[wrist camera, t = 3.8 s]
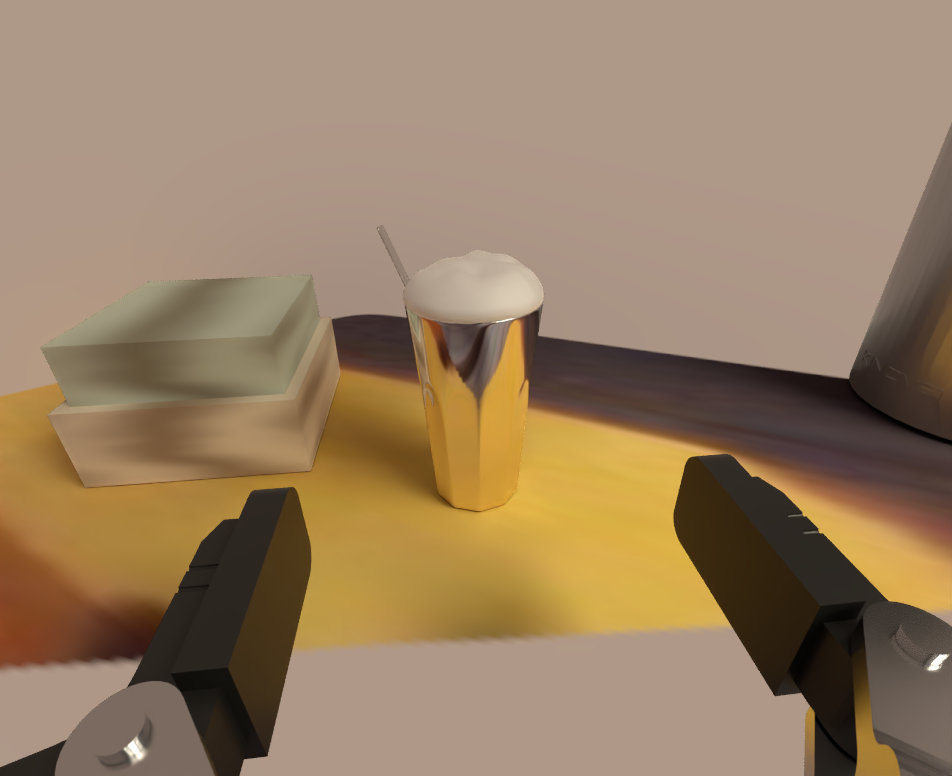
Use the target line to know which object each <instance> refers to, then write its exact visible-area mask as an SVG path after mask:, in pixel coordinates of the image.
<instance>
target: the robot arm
mask: <svg viewBox="0 0 952 776" xmlns="http://www.w3.org/2000/svg"><path fill="white" fill-rule="evenodd" d="M849 382H850V384H851V386H852V388H853V390H854V391H855V392H856V393H857V394H858V395H859V396H860V397H861V398H862V399H864V400H865V401H866V402H868V403H869V404H870V405H872V406H873V407H875V408H876V409H878V410H880V411H882V412H883V413H885V414H887V415H889V416H891V417H892V418H895V419H897V420H899V421H901V422H903V423H906V424H908V425H910V426H912V427H915V428H917V429H920V430H923V431H925V432H928V433H931V434H934V435H936V436H939V437H942V438H945V439H949V440H952V123H951V126H950V128H949V131H948V133H947V136H946V138H945V141H944V143H943V146H942V148H941V151H940V153H939V156H938V158H937V160H936V163H935V165H934V168H933V170H932V173H931V175H930V178H929V180H928V183H927V185H926V188H925V190H924V192H923V195H922V197H921V200H920V202H919V205H918V207H917V210H916V212H915V215H914V217H913V220H912V222H911V224H910V227H909V229H908V232H907V235H906V237H905V239H904V242H903V244H902V247H901V249H900V252H899V254H898V257H897V259H896V261H895V264H894V266H893V269H892V272H891V274H890V276H889V279H888V281H887V284H886V286H885V289H884V291H883V294H882V296H881V299H880V301H879V303H878V306H877V308H876V310H875V313H874V315H873V318H872V320H871V323H870V325H869V328H868V330H867V333H866V335H865V338H864V340H863V343H862V345H861V348H860V350H859V353H858V355H857V357H856V360H855V362H854V365H853V368H852V370H851V373H850V377H849ZM802 513H803V512H802V511H801V510H800V509H799V508H798V507H797V506H796V505H795V504H794V503H793V502H792V501H791V500H790V499H789V498H788V497H787V496H786V495H785V494H784V493H783V492H781V491H780V490H778V489H777V488H775V487H773V486H772V485H770V484H769V483H767V482H765V481H764V480H762V479H761V478H759V477H752V476H751V475H750V474H749V473H748V472H747V471H746V470H745V469H744V468H743V467H742V466H741V465H740V464H739V462H738V461H737V460H736V459H735V458H734V457H732V456H731V455H728V454H720V455H708V456H695V457H690V458H689V459H688V460H687V462H686V465H685V468H684V472H683V476H682V480H681V484H680V489H679V493H678V497H677V501H676V505H675V509H674V526H675V531H676V534H677V537H678V539H679V541H680V543H681V545H682V546H683V548H684V549H685V551H686V553H687V554H688V556H689V558H690V559H691V561H692V562H693V564H694V566H695V567H696V569H697V571H698V572H699V574H700V575H701V577H702V579H703V580H704V582H705V584H706V585H707V587H708V588H709V590H710V592H711V593H712V595H713V597H714V598H715V600H716V601H717V603H718V605H719V606H720V608H721V610H722V611H723V613H724V614H725V616H726V618H727V619H728V621H729V623H730V624H731V626H732V627H733V629H734V631H735V632H736V634H737V636H738V637H739V639H740V640H741V642H742V643H743V645H744V647H745V648H746V650H747V652H748V653H749V655H750V656H751V658H752V660H753V662H754V663H755V665H756V666H757V668H758V670H759V671H760V673H761V674H762V676H763V678H764V679H765V681H766V683H767V684H768V686H769V687H770V689H771V691H772V692H773V694H774V696H780V695H788V694H796V693H802V695H803V696H804V698H805V699H806V701H807V702H808V704H809V705H810V707H809V709H808V711H807V713H806V719H805V762H804V764H805V765H804V776H952V627H951V626H950V625H949V624H947V623H946V622H944V621H943V620H941V619H939V618H938V617H936V616H934V615H932V614H930V613H928V612H926V611H924V610H921V609H919V608H916V607H914V606H910V605H907V604H903V603H898V602H890V601H888V600H887V599H886V598H885V597H884V596H883V595H882V594H881V593H880V592H879V591H878V590H877V589H876V588H875V587H874V586H873V585H872V584H871V583H870V582H869V581H868V579H867V578H866V577H865V576H864V575H863V574H862V573H861V572H860V571H859V570H858V569H857V568H856V567H855V566H854V565H853V564H852V563H851V562H850V561H849V560H848V559H847V558H846V557H845V556H844V555H843V554H842V553H841V552H840V551H839V550H838V549H837V548H836V546H835V545H834V544H833V543H832V542H831V541H830V540H829V539H828V538H827V537H826V536H825V535H824V534H823V533H821V534H820V533H819V531H818V528H817V527H816V526H815V525H814V524H813V523H812V522H811V521H810V520H809V519H808V518H807V517H804V516H803V515H802ZM310 570H311V546H310V540H309V536H308V532H307V528H306V525H305V521H304V517H303V513H302V509H301V505H300V501H299V497H298V493H297V491H296V489H295V488H294V487H288V488H275V489H262V490H254V491H252V492H251V493H250V495H249V497H248V499H247V501H246V504H245V506H244V508H243V510H242V513H241V515H240V517H239V519H228V520H223V521H222V522H221V523H220V524H219V525H218V526H217V527H216V528H215V529H214V530H213V531H212V532H211V533H210V534H209V535H208V536H207V537H206V538H205V539H204V540H203V541H202V542H201V544H200V546H199V548H198V550H197V552H196V554H195V556H194V558H193V560H192V562H191V564H190V566H189V571H187V572H186V574H185V576H184V577H183V579H182V581H181V583H180V585H179V587H178V588H179V591H178V593H175V595H174V597H173V599H172V601H171V603H170V605H169V607H168V609H167V611H166V613H165V615H164V617H163V619H162V621H161V623H160V625H159V627H158V629H157V631H156V633H155V635H154V637H153V639H152V641H151V643H150V645H149V647H148V649H147V651H146V653H145V655H144V657H143V659H142V661H141V663H140V665H139V667H138V669H137V670H136V673H135V674H134V676H133V678H132V680H131V682H130V683H129V685H128V687H127V688H126V689H123V690H121V691H119V692H117V693H116V694H114V695H112V696H110V697H109V698H108V699H106V700H105V701H103V702H102V703H100V704H99V705H98V706H97V707H96V708H94V709H93V710H92V711H91V712H90V713H89V714H88V715H87V716H86V717H85V718H84V719H83V720H82V721H81V722H80V723H79V725H78V726H77V727H76V728H75V729H74V731H73V732H72V733H71V735H70V736H69V738H68V739H67V740H65V741H62V742H60V743H59V744H56V745H54V746H52V747H49V748H47V749H44V750H42V751H39V752H37V753H34V754H32V755H29V756H27V757H25V758H22V759H20V760H17V761H15V762H12V763H10V764H8V765H5V766H3V767H0V776H239V775H240V771H241V767H242V764H243V760H244V759H250V758H257V757H266V756H268V751H269V747H270V742H271V738H272V734H273V730H274V726H275V721H276V717H277V713H278V709H279V704H280V700H281V696H282V691H283V687H284V683H285V678H286V674H287V670H288V665H289V661H290V657H291V653H292V649H293V644H294V640H295V636H296V632H297V627H298V623H299V619H300V614H301V610H302V606H303V602H304V597H305V593H306V589H307V584H308V580H309V576H310Z"/></svg>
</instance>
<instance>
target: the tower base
mask: <svg viewBox="0 0 952 776" xmlns="http://www.w3.org/2000/svg"><path fill="white" fill-rule="evenodd" d="M41 349H42V351H43V353H44V355H45V357H46V360H47V362H48V364H49V365H50V368H51V370H52V372H53V374H54V376H55V378H56V380H57V382H58V384H59V386H60V388H61V390H62V392H63V394H64V396H65V398H66V400H65V401H64V402H63V403H62V404H60V405H59V406H58V407H57V408H55V409H54V410H53V411H52V412H50V413H49V414H48V415H47V416H48V417H49V419H50V421H51V423H52V425H53V427H54V429H55V431H56V433H57V435H58V437H59V439H60V440H61V442H62V444H63V446H64V448H65V450H66V452H67V454H68V456H69V458H70V460H71V462H72V464H73V465H74V467H75V469H76V471H77V473H78V475H79V477H80V479H81V481H82V483H83V485H84V487H85V488H88V487H101V486H115V485H128V484H142V483H155V482H169V481H182V480H196V479H209V478H223V477H237V476H250V475H264V474H277V473H291V472H304V471H311V469H312V466H313V462H314V459H315V456H316V453H317V449H318V446H319V443H320V440H321V436H322V433H323V430H324V426H325V423H326V420H327V417H328V413H329V410H330V407H331V403H332V400H333V397H334V394H335V390H336V387H337V384H338V381H339V377H340V374H341V373H340V367H339V361H338V355H337V349H336V343H335V337H334V331H333V325H332V319H331V317H319V312H318V306H317V300H316V295H315V290H314V284H313V278H312V275H298V276H276V277H250V278H228V279H227V278H226V279H203V280H179V281H156V282H155V281H154V282H147V283H146V284H144V285H142V286H141V287H139V288H137V289H136V290H134V291H132V292H131V293H129V294H127V295H126V296H124V297H122V298H121V299H119V300H118V301H116V302H114V303H113V304H111V305H109V306H108V307H106V308H104V309H103V310H101V311H100V312H98V313H96V314H95V315H93V316H91V317H90V318H88V319H86V320H85V321H83V322H81V323H80V324H78V325H77V326H75V327H73V328H72V329H70V330H68V331H67V332H65V333H64V334H62V335H60V336H58V337H57V338H55V339H54V340H52V341H50V342H49V343H47V344H45V345H44V346H42V347H41Z"/></svg>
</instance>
